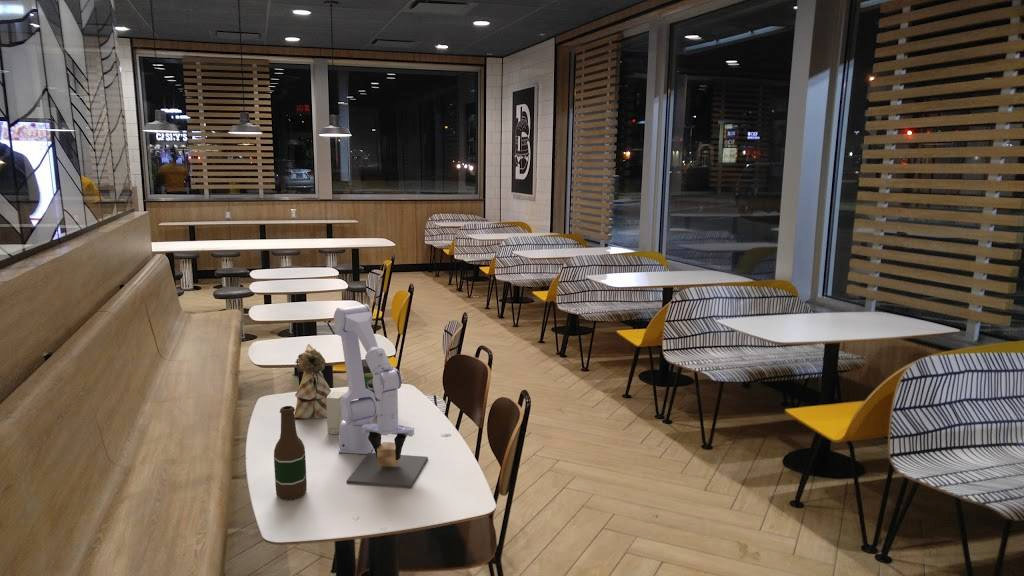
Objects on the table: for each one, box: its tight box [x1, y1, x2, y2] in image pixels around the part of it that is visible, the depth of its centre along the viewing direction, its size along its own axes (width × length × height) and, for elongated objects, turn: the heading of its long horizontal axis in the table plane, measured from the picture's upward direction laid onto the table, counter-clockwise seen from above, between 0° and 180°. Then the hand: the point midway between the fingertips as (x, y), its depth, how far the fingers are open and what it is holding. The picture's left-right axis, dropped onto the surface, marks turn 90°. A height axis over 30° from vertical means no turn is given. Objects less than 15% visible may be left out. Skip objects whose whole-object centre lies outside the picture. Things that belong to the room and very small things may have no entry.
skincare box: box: [326, 391, 347, 435], centre depth 219 cm, size 6×4×12 cm
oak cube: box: [377, 441, 400, 467], centre depth 192 cm, size 5×5×5 cm
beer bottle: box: [273, 405, 308, 501], centre depth 177 cm, size 8×8×24 cm
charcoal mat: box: [346, 452, 429, 489], centre depth 193 cm, size 18×18×1 cm
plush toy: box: [294, 343, 332, 420], centre depth 232 cm, size 14×14×25 cm
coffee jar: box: [357, 359, 377, 402], centre depth 237 cm, size 10×8×19 cm
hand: (388, 457), depth 192 cm, fingers closed on oak cube, 5 cm apart
